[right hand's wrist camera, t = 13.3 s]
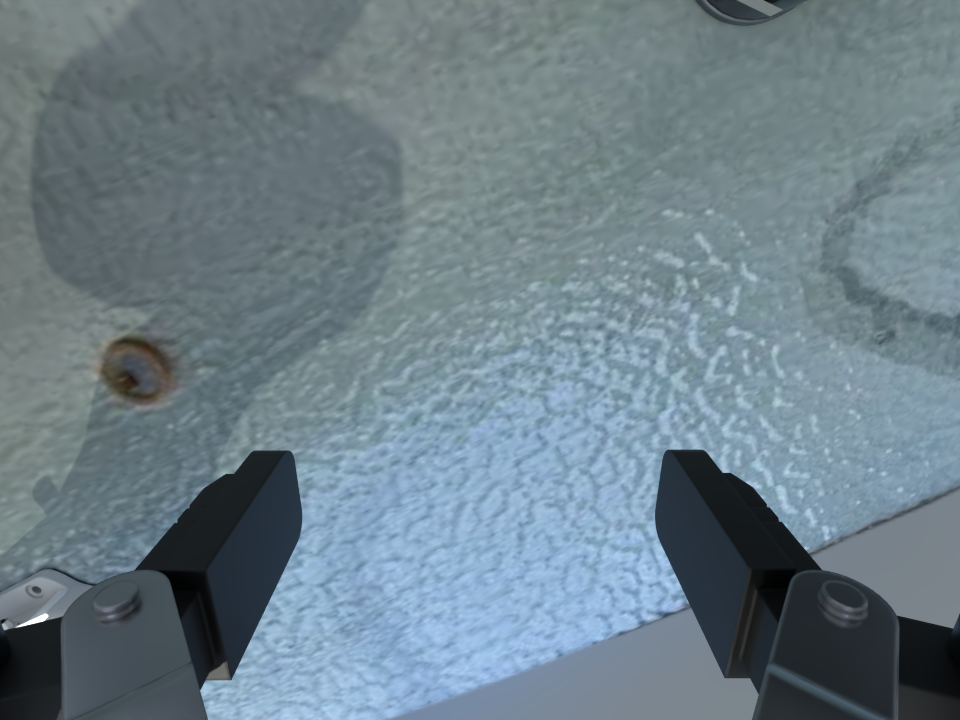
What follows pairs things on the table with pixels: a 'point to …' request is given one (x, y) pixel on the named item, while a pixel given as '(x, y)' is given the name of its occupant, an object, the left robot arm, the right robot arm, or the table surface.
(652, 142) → the table surface
